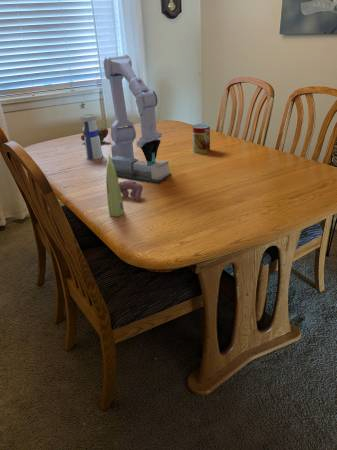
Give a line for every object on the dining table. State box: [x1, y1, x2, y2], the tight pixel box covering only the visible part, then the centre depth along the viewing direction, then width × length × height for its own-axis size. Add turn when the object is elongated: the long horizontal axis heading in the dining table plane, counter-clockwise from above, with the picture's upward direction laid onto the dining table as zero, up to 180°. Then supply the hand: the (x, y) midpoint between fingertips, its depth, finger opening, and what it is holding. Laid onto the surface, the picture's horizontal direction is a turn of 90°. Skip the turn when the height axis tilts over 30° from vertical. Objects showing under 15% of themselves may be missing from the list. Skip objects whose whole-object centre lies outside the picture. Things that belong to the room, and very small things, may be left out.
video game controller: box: [119, 180, 144, 202], centre depth 134 cm, size 10×5×7 cm, turn 72°
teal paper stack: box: [131, 152, 157, 172], centre depth 150 cm, size 16×3×8 cm, turn 60°
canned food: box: [192, 123, 211, 155], centre depth 175 cm, size 8×8×12 cm
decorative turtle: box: [80, 127, 109, 144], centre depth 199 cm, size 10×15×8 cm, turn 89°
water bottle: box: [79, 101, 104, 160], centre depth 173 cm, size 8×9×25 cm
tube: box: [105, 154, 125, 217], centre depth 120 cm, size 6×5×20 cm
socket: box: [151, 160, 170, 180], centre depth 148 cm, size 4×7×5 cm, turn 150°
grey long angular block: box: [111, 156, 172, 185], centre depth 153 cm, size 25×10×6 cm, turn 60°
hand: (151, 159), depth 148 cm, fingers closed on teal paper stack, 3 cm apart
